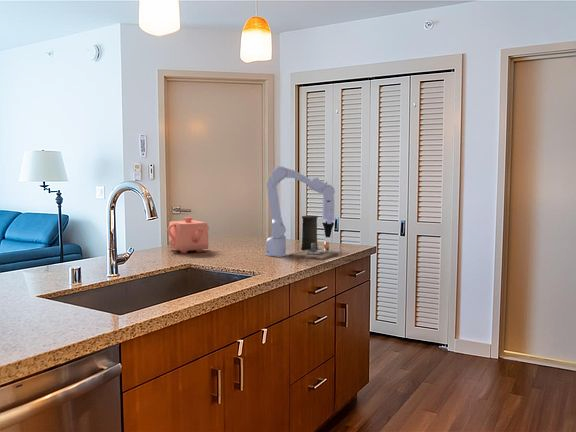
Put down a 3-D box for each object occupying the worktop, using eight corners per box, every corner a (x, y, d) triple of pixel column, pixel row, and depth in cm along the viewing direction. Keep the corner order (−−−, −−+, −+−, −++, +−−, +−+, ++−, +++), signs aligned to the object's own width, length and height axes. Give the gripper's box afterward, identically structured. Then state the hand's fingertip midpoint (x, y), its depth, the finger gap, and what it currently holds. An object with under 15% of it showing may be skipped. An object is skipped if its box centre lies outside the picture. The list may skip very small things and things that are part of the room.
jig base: (288, 256, 253) (288, 244, 252) (306, 252, 268) (307, 240, 268) (321, 260, 244) (321, 247, 243) (338, 255, 259) (338, 242, 258)
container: (320, 249, 278) (321, 216, 276) (312, 251, 270) (312, 217, 269) (306, 247, 283) (306, 215, 281) (297, 249, 275) (298, 216, 274)
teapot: (222, 253, 263) (221, 218, 261) (180, 257, 250) (179, 220, 248) (201, 247, 283) (200, 214, 282) (161, 250, 270) (161, 216, 269)
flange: (309, 254, 251) (309, 244, 250) (303, 252, 258) (303, 241, 258) (332, 253, 255) (332, 243, 254) (325, 250, 262) (325, 241, 262)
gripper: (337, 210, 245) (337, 239, 246) (335, 208, 259) (334, 235, 261) (323, 210, 245) (322, 238, 246) (321, 208, 259) (320, 235, 261)
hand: (327, 237), depth 253 cm, fingers closed
